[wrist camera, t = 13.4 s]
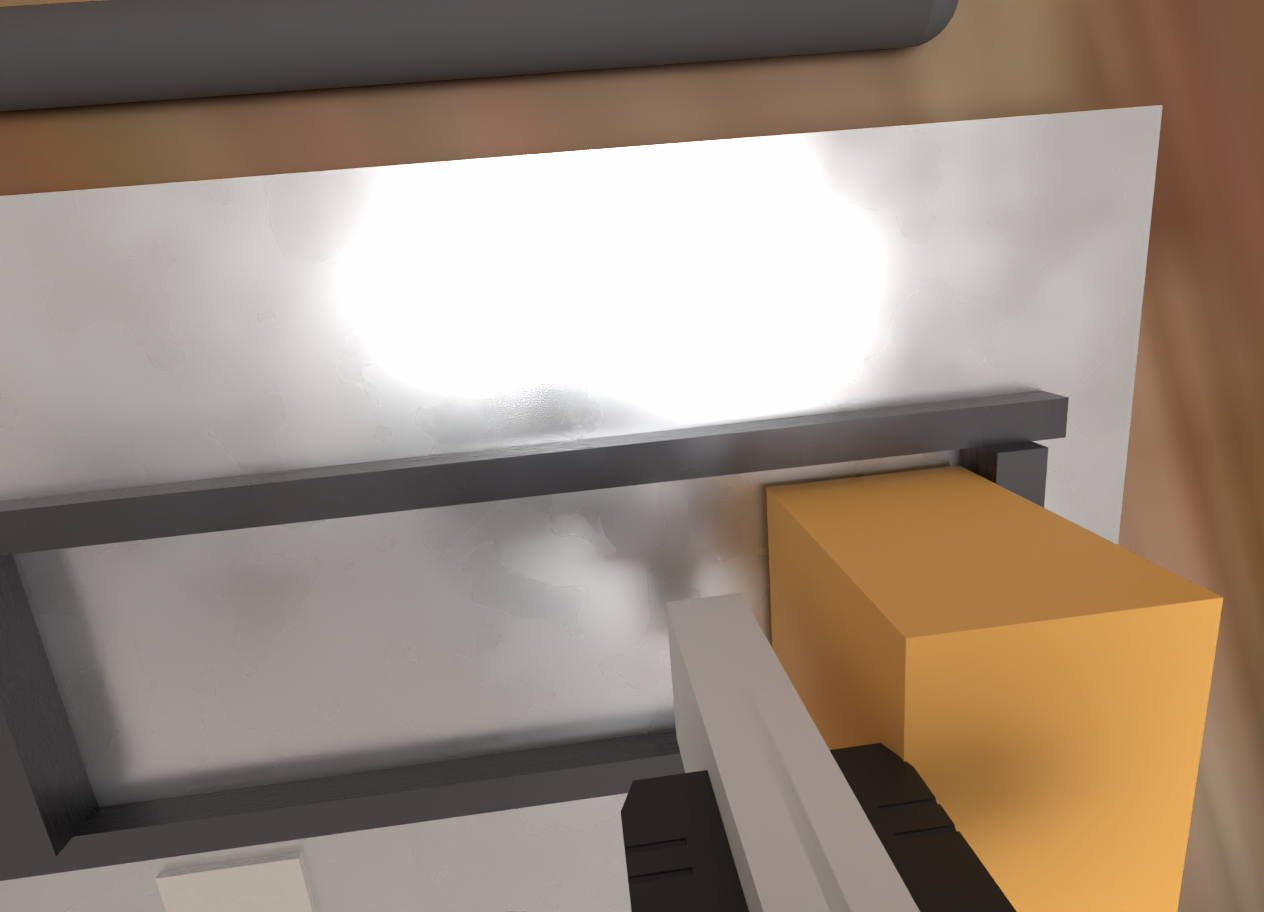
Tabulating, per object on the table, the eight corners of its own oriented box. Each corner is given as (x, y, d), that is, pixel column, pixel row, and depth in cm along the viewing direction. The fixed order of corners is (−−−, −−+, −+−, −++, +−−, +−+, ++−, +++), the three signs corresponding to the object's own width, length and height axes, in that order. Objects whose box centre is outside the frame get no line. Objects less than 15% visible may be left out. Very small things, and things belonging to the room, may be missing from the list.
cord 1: (-49, 124, 14) (-126, 106, 12) (-79, 31, 13) (-162, 0, 12) (932, 54, 15) (974, 29, 13) (934, -33, 15) (978, -69, 13)
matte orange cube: (774, 705, 15) (899, 964, 10) (766, 487, 14) (905, 638, 8) (951, 681, 16) (1175, 921, 10) (959, 465, 14) (1223, 597, 9)
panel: (76, 947, 19) (-43, 1113, 15) (-193, 231, 14) (-461, 218, 10) (1022, 808, 20) (1123, 926, 17) (1070, 129, 16) (1225, 87, 12)
